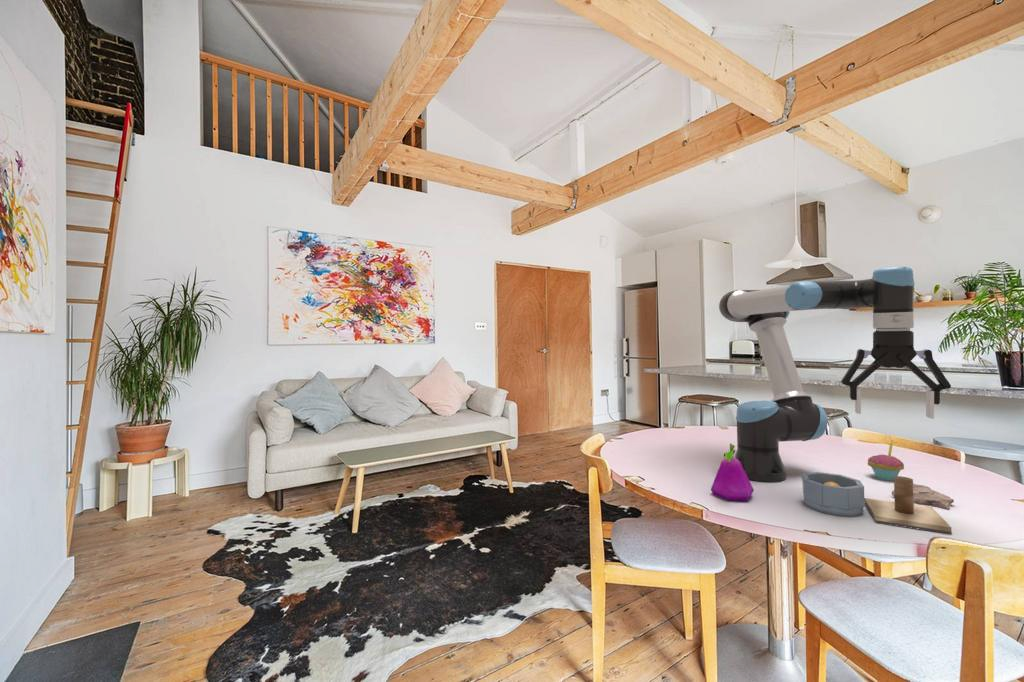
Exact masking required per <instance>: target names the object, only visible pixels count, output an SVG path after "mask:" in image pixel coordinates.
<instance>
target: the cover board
mask: <svg viewBox="0 0 1024 682" xmlns="http://www.w3.org/2000/svg"><path fill="white" fill-rule="evenodd" d="M913 484H914V479H913V478H912V477H908V476H907V477H906V476H902V475H901V476H899V475H898V476H895V477H894V481H893V488H894V489H893V490H894V496H893V498H894V501H890V500H883V499H875V498H868V497H864V503H866V505H867V507H868V508H869V510H870V512H871V514H872V515H873V517H874V519H875V520H877V521H884V522H890V523H897V524H903V525H910V526H916V527H923V528H930V529H936V530H943V531H949V532H952V526H951V525H950V524H949V523H948V522H947V521H946V520H945V519H944V518H943V517H942V516H941V515H940V514H939V512H937V510H936V509H934V508H933V506H930V505H921V504H915V503H914V502H913ZM866 505H865V506H866ZM867 507H866V508H867ZM870 512H869V513H870ZM871 514H870V515H871ZM873 517H872V518H873ZM874 519H873V520H874Z"/></svg>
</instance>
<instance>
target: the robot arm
mask: <svg viewBox="0 0 1024 682" xmlns="http://www.w3.org/2000/svg"><path fill="white" fill-rule="evenodd" d="M913 271H914V270H913V268H911V267H909V266H892V267H890V266H889V267H881V268H877V269H875V270H873V272H872V277H871V278H868V279H859V280H827V281H826V280H825V281H821V280H820V281H819V280H818V281H817V280H816V281H815V280H813V281H812V280H802V281H795V282H792V283H791V284H788V285H783V286H776V287H772V288H771V287H770V288H765V289H737V290H731V291H728V292H727V293H725V294H724V295H723V296H722V297H721V298H720V300H719V303H718V310H719V312H720V314H721V315H722V317H724V318H725V319H726V320H728V321H730V322H734V323H747V325H748V328H749V330H750V331H751V332H753V333H755V335H756V339H757V341H758V346H759V349H760V352H761V355H762V359H763V363H764V366H765V369H766V373H767V376H768V379H769V383H770V384H769V385H770V387H771V391H772V395H773V399H772V400H752V401H747V402H746V401H745V402H742V403H740V404H739V405H738V406H737V408H736V416H735V420H736V438H737V439H736V440H737V441H736V442H737V445H736V446H737V449H736V451H735V454H734V457H735V458H736V459H737V460H739V461H740V463H741V465H742V467H743V469H744V471H745V473H746V475H747V477H748V479H749V481H755V482H765V483H768V482H769V483H775V482H781V481H785V480H786V478H787V470H786V468H785V466H784V463H783V461H782V457H781V455H780V451H779V450H780V449H779V448H780V447H779V446H780V445H779V442H795V441H796V442H799V441H801V442H807V441H812V440H813V441H814V440H817V439H820V438H821V437H822V436H823V435H824V434H825V431H826V430H827V428H828V427H827V426H828V416H827V412H826V411H825V409H824V408H823V407H822V406H821V405H819V404H817V403H814V402H813V399H812V395H810V394H807V393H806V392H805V391H804V388H803V386H802V382H801V380H800V376H799V373H798V369H797V366H796V363H795V361H794V356H793V354H792V351H791V347H790V345H789V342H788V339H787V335H786V332H785V329H784V325H785V324H786V323H787V318H788V317H789V315H790V312H795V311H807V310H809V311H810V310H835V309H836V310H838V309H839V310H855V309H865V308H866V309H867V308H868V309H869V308H872V313H873V315H872V328H873V329H874V330H875V331H873V332H872V348H871V350H867V349H863V348H862V349H861V348H859V349H857V350H856V356H855V358H854V360H853V362H852V363H851V365H850V366H849V368H848V370H846V372H845V374H844V376H843V377H842V378H841V381H840V382H841V384H842V385H845V386H847V387H849V398H850V400H852V401H854V404H855V405H854V406H855V407H854V408H855V410H854V411H855V413H856V414H857V415H858V414H859V415H861V414H862V402H861V401H862V388H861V387H859V386H860V384H862V383H864V381H865V380H867V378H868V377H870V376H871V375H872V374H873V373H874V372H876V370H878V369H879V368H881V367H883V368H887V369H889V368H899V369H901V368H905V367H906V368H908V370H910V371H911V372H912V373H913V374H914V375H915V376H916V377H917V378H918V379H920V380H921V381H922V382H923V383H924V384H925V385H926V386H927V387H929V389H926V390H925V396H926V398H925V399H926V400H925V401H926V402H925V407H926V408H925V409H926V410H925V416H926V417H927V418H929V419H935V405H939V404H940V403H941V401H940V400H941V394H940V393H941V391H943V390H949V389H951V388H952V384H950V382H949V380H948V379H947V378H946V376H945V375H944V373H943V372H942V370H941V369H940V367H939V365H938V364H937V363H936V361H935V360H934V358H933V357H934V356H933V351H932V350H931V349H927V348H926V349H925V348H924V349H921V350H915V347H914V345H915V344H914V338H915V337H914V336H915V335H914V334H915V333H914V332H913V330H911V329H913V328H914V295H915V293H914V292H915V280H914V272H913ZM868 356H871V357H872V358H873V359H874V361H873V362H871V363H870V364H869V366H867V367H866V368H865V369H864V370H863V371H862V372H861V373H859V374H858V376H856V377H855V378H854V379H853V380H852V378H853V377H854V375H856V374H855V373H856V372H857V371H858V370H859V367H861V364H863V361H864V359H867V358H868ZM917 356H918V357H919V359H922V360H923V361H924V364H925V365H926V366H927V368H928V369H929V371H930V373H932V375H933V377H934V378H935V379H936V381H937V383H936V382H935V381H933V380H932V379H931V378H930V377H929V376H928V375H927V374H926V373H925V372H924V371H922V369H920V368H919V367H918V366H917V365H916V364H915V363H914V362H913V360H914V358H915V357H917ZM851 380H852V381H851Z"/></svg>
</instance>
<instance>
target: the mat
mask: <svg viewBox="0 0 1024 682" xmlns="http://www.w3.org/2000/svg"><path fill="white" fill-rule="evenodd" d="M864 503H865V502H864ZM865 508H866V509H867V510H869V508H868V507H867V505H866V503H865ZM868 512H869V514H870V516H871V515H872V514H871V512H870V510H869V511H868ZM871 517H872V519H873V521H874V520H875V519H874V517H873V515H872V516H871ZM875 522H877V523H876V524H881V523H884V524H883V525H887V524H892V525H891V526H894V525H898V526H897V527H900V526H906V527H905V528H907V527H912V528H911V529H913V528H919V529H918V530H920V529H924V530H923V531H926V530H929V531H928V532H934V533H939V534H946V535H952V534H953V533H952V531H951V532H949V531H943V530H936V529H930V528H923V527H916V526H910V525H903V524H897V523H890V522H884V521H877V520H875V521H874V523H875Z"/></svg>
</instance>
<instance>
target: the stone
mask: <svg viewBox="0 0 1024 682" xmlns="http://www.w3.org/2000/svg"><path fill="white" fill-rule="evenodd" d="M891 495H892V496H893V497H894V489H893V490H892V491H891ZM954 501H955V499H954V498H951V497H950V496H948V495H946V494H944V493H940V492H938V491H936V490H934V489H932V488H931V487H930V486H927V485H923V484H917V483H913V502H914V504H915V505H921V506H930V507H936V508H939V509H943V510H950V507H951V505H952V504H953V503H954Z"/></svg>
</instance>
